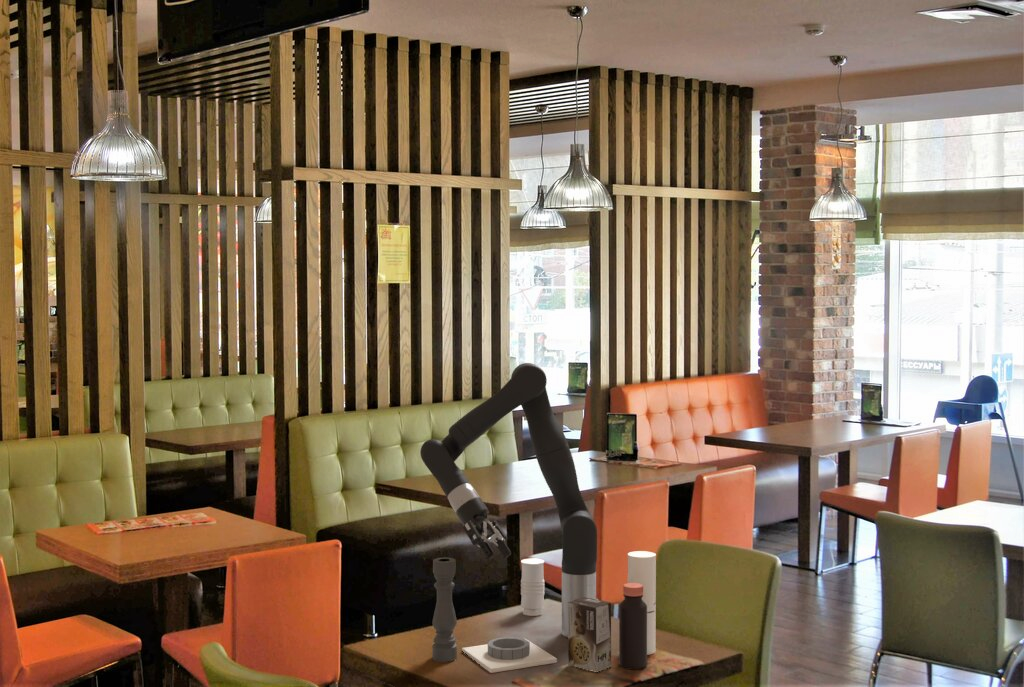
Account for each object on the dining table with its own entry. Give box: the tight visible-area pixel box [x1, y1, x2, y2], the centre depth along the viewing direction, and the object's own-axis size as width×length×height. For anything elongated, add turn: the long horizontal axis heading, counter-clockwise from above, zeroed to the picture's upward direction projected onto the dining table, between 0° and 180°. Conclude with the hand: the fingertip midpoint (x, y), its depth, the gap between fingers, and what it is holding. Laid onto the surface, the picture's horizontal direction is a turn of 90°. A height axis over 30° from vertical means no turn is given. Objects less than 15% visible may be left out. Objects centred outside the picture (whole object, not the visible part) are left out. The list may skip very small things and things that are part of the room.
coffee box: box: [567, 597, 612, 672], centre depth 279 cm, size 9×6×16 cm
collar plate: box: [461, 636, 558, 674], centre depth 286 cm, size 18×18×4 cm
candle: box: [520, 557, 546, 617], centre depth 325 cm, size 7×7×15 cm
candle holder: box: [431, 557, 458, 663], centre depth 285 cm, size 6×6×25 cm
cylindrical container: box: [627, 550, 657, 656], centre depth 291 cm, size 7×7×25 cm
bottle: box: [618, 582, 648, 670], centre depth 279 cm, size 7×7×20 cm
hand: (500, 556), depth 287 cm, fingers open, 8 cm apart
